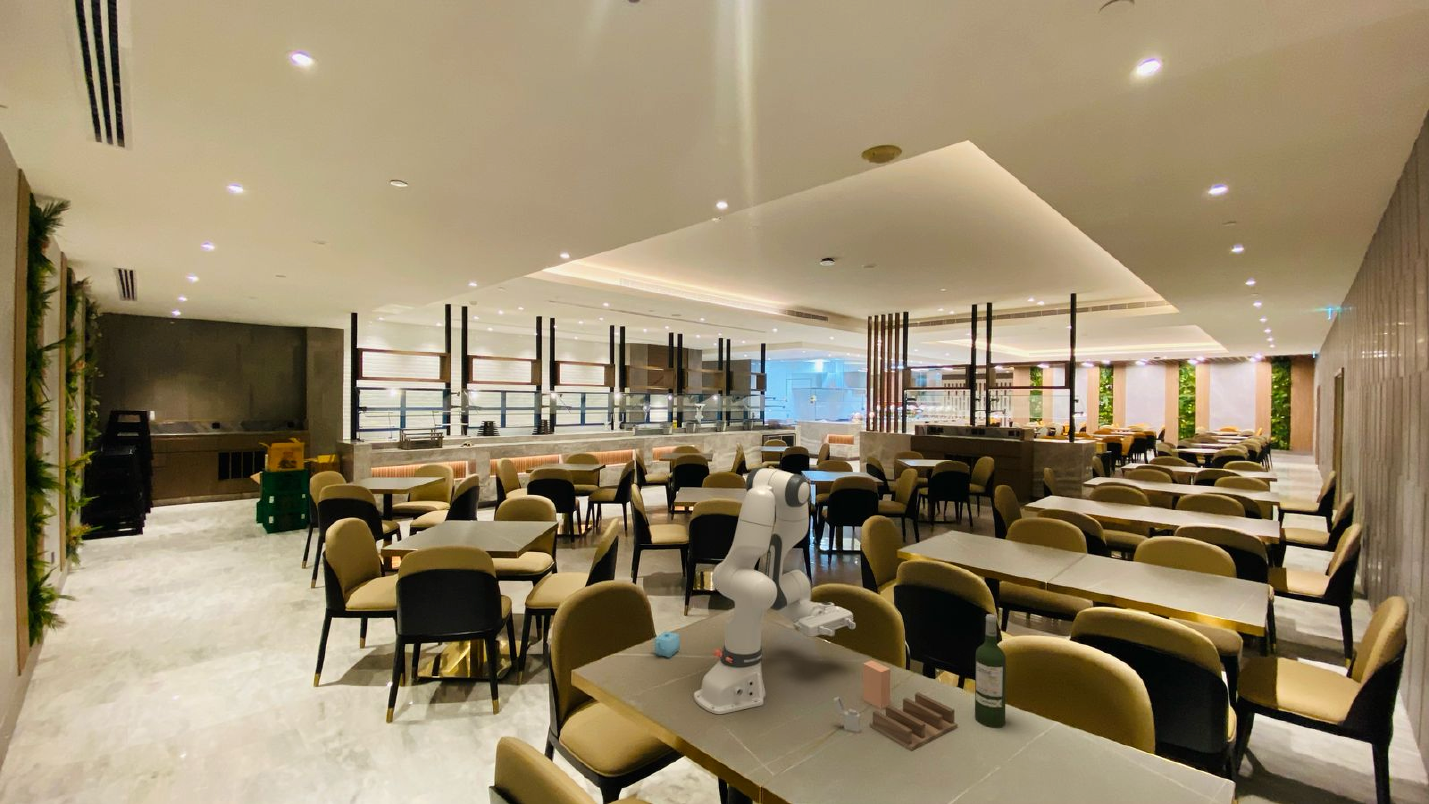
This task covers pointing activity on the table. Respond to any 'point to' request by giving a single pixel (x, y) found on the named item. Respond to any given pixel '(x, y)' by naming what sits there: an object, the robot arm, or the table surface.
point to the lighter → (848, 716)
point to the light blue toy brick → (667, 644)
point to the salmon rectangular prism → (876, 684)
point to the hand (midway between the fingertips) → (843, 629)
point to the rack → (915, 721)
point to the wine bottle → (990, 679)
